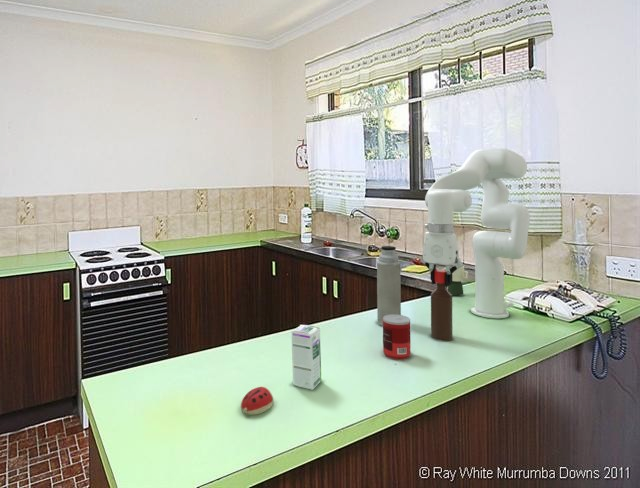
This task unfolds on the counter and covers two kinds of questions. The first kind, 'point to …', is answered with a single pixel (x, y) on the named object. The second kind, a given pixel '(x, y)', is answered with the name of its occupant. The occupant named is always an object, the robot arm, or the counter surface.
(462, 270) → the character mug
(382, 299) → the thermos bottle
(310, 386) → the syrup box
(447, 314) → the bottle
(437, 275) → the cap
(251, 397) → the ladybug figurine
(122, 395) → the counter surface
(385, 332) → the canned food
